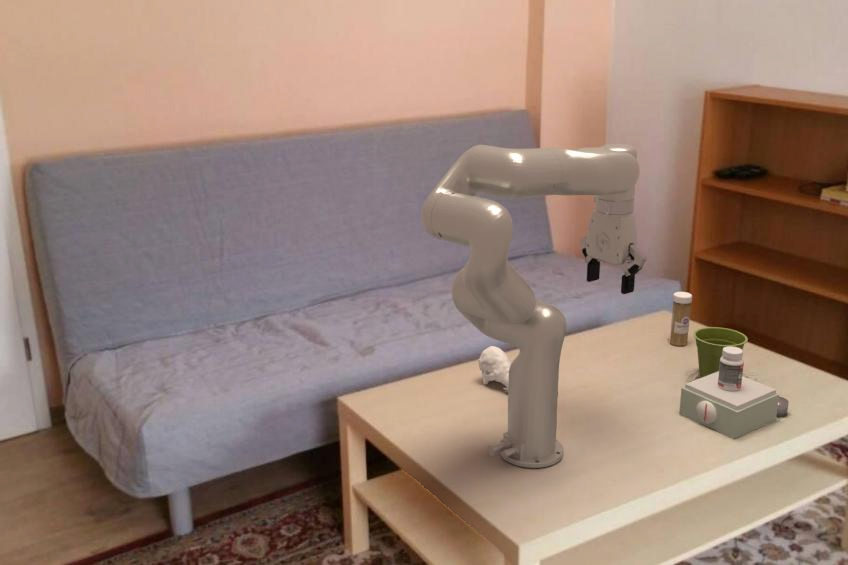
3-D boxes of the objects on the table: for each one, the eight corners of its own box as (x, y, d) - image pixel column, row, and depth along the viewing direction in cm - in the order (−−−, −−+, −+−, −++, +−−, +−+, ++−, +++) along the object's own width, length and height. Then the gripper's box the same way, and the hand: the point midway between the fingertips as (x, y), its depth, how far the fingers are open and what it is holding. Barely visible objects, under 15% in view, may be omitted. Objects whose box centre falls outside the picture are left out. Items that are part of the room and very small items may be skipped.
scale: (732, 439, 179) (735, 408, 177) (677, 414, 190) (679, 384, 188) (775, 420, 187) (779, 389, 185) (720, 396, 198) (723, 367, 196)
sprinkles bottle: (679, 348, 224) (684, 298, 220) (665, 342, 228) (669, 293, 224) (691, 343, 227) (696, 294, 223) (677, 338, 231) (681, 289, 226)
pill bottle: (742, 392, 184) (746, 355, 181) (718, 390, 185) (722, 353, 182) (739, 382, 188) (743, 346, 186) (716, 381, 189) (720, 344, 187)
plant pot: (753, 383, 205) (758, 337, 201) (720, 396, 198) (725, 349, 195) (711, 366, 214) (715, 322, 210) (678, 378, 207) (682, 333, 204)
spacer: (779, 419, 187) (780, 407, 187) (760, 412, 191) (762, 399, 190) (791, 414, 190) (792, 401, 189) (773, 406, 193) (774, 394, 192)
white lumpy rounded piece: (498, 340, 208) (531, 361, 199) (495, 372, 211) (528, 394, 202) (476, 346, 204) (509, 368, 195) (474, 378, 208) (506, 402, 199)
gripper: (570, 200, 183) (567, 279, 188) (634, 217, 169) (628, 301, 175) (596, 195, 187) (592, 272, 192) (660, 211, 173) (654, 294, 179)
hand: (609, 286), depth 184 cm, fingers open, 9 cm apart
